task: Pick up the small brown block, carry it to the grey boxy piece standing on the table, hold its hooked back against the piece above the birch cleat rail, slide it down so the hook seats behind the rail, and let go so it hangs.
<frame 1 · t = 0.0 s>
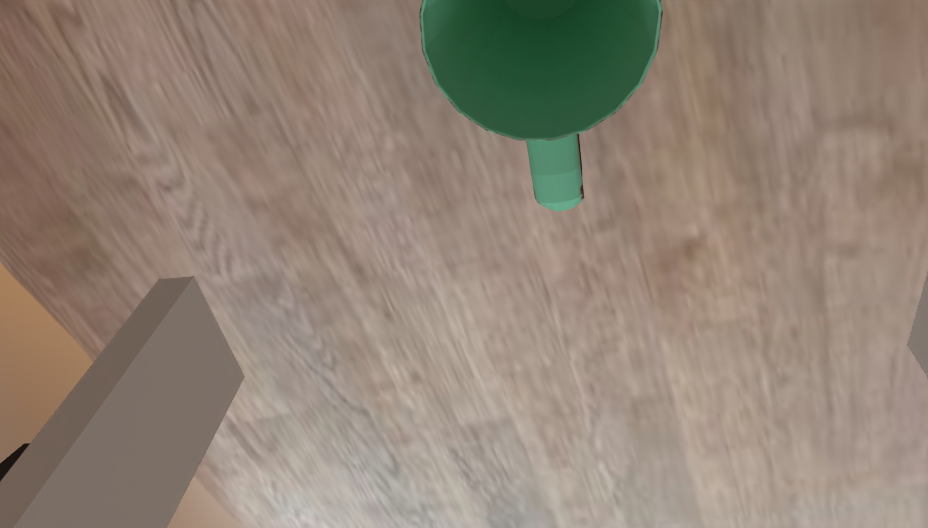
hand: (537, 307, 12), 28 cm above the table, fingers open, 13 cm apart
mug: (547, 18, 37), on the table
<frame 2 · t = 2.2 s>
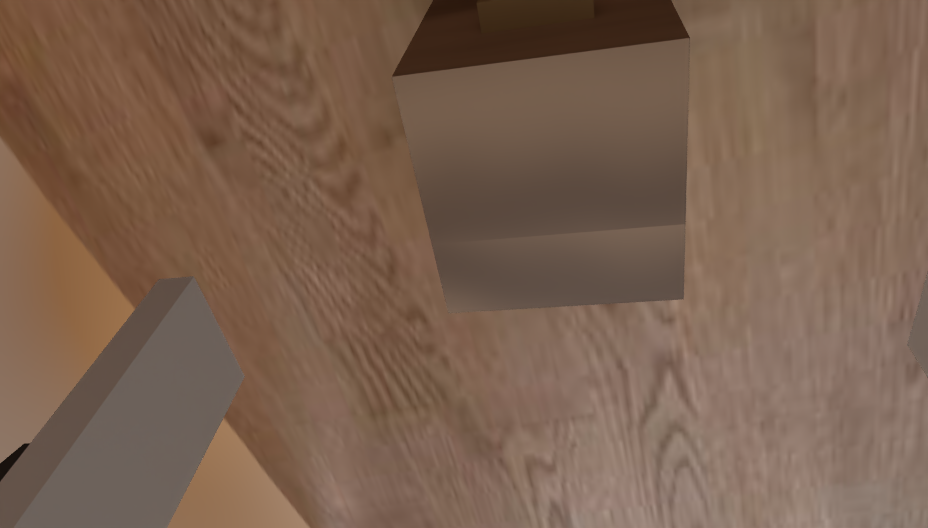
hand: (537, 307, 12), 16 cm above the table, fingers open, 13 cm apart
brown block: (548, 32, 25), on the table
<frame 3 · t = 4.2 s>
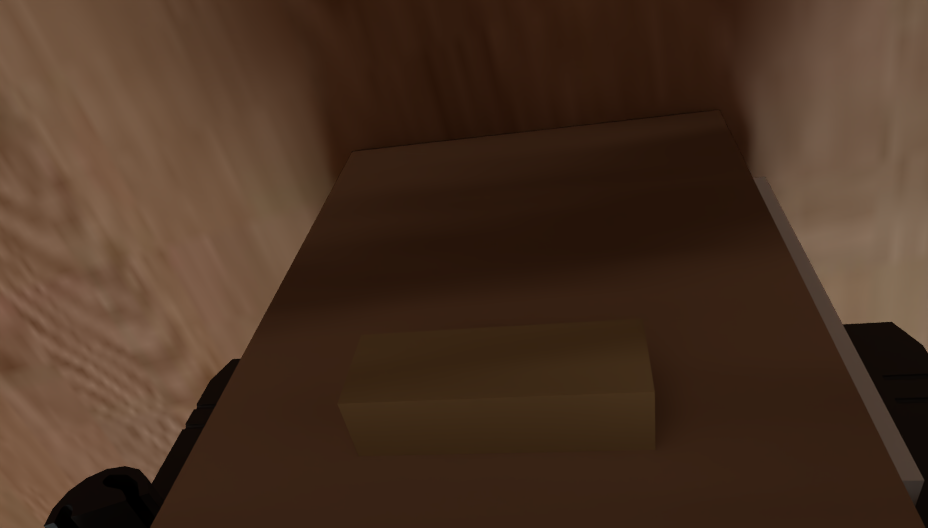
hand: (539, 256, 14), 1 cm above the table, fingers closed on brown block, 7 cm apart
brown block: (540, 240, 14), on the table, touching gripper
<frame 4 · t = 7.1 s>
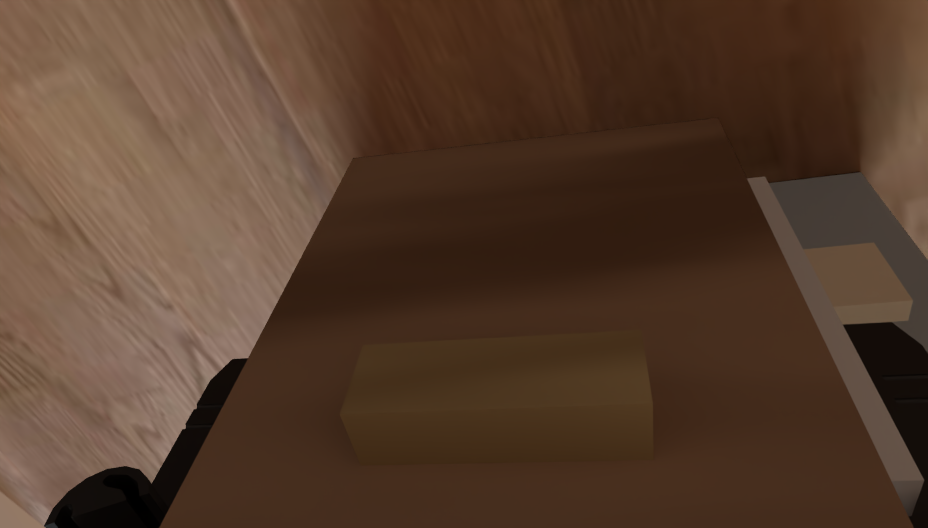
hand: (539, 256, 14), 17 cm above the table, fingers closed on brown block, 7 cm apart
brown block: (539, 245, 14), point 17 cm above the table, touching gripper
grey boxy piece: (594, 220, 33), on the table
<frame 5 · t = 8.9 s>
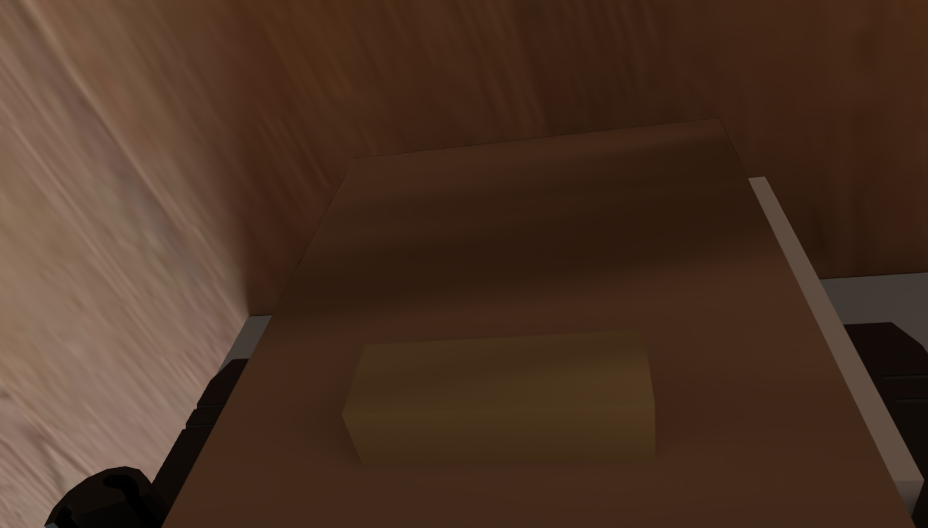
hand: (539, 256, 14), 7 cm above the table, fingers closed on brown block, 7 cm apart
brown block: (540, 245, 14), point 7 cm above the table, touching gripper
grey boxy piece: (564, 317, 24), on the table
when the fingers open (4 cm above the table, at t = 10.4 s): brown block stays where it is, resting on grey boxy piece.
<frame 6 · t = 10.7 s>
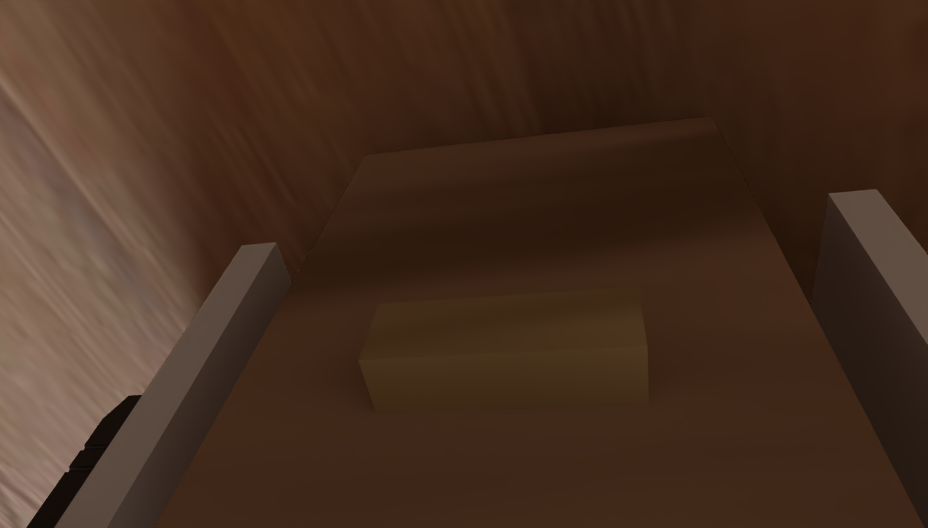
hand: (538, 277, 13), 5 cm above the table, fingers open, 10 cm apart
brown block: (542, 241, 15), point 3 cm above the table, touching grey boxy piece
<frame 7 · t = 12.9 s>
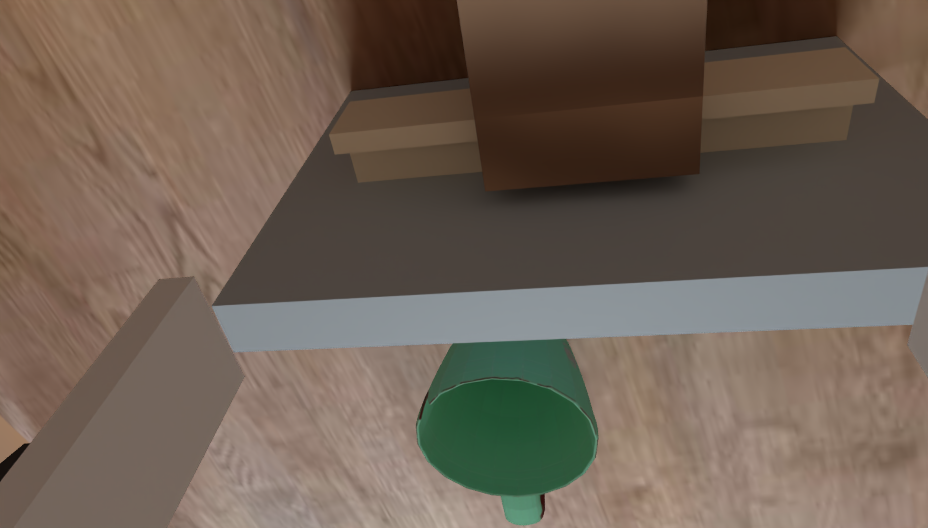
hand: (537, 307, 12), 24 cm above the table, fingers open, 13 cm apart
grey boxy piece: (579, 84, 34), on the table
mug: (519, 345, 45), on the table
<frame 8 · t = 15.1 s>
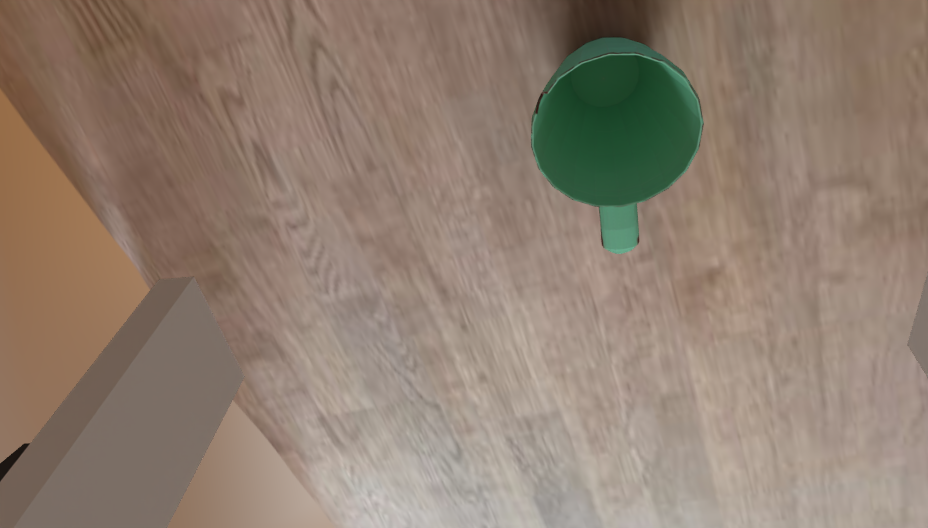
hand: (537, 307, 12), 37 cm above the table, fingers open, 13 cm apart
mug: (607, 105, 48), on the table
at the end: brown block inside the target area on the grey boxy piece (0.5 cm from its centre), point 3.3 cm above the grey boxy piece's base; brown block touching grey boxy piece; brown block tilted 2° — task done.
